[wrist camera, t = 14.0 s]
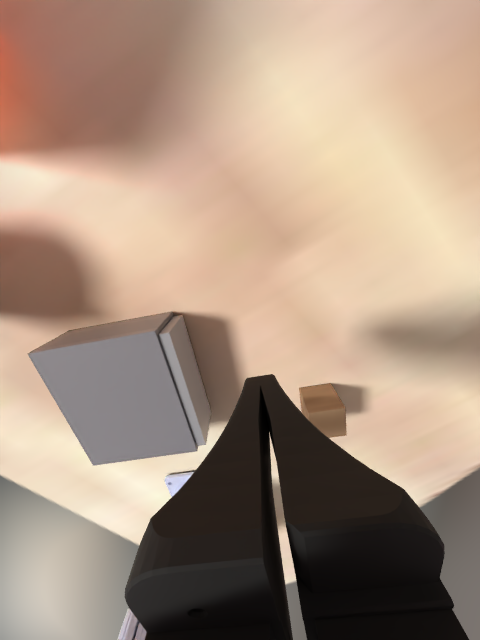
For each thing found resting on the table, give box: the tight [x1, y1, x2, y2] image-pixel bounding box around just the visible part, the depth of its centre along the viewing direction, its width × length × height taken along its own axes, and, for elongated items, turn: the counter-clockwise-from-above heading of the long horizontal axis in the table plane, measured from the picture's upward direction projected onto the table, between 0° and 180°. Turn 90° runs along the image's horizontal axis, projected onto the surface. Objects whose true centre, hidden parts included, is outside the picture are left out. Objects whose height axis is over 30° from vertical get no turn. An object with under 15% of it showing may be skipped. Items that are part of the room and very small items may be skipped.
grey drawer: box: [159, 315, 211, 446], centre depth 21 cm, size 11×10×4 cm
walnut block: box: [299, 383, 346, 438], centre depth 22 cm, size 3×3×4 cm
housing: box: [28, 312, 198, 465], centre depth 21 cm, size 12×10×4 cm
